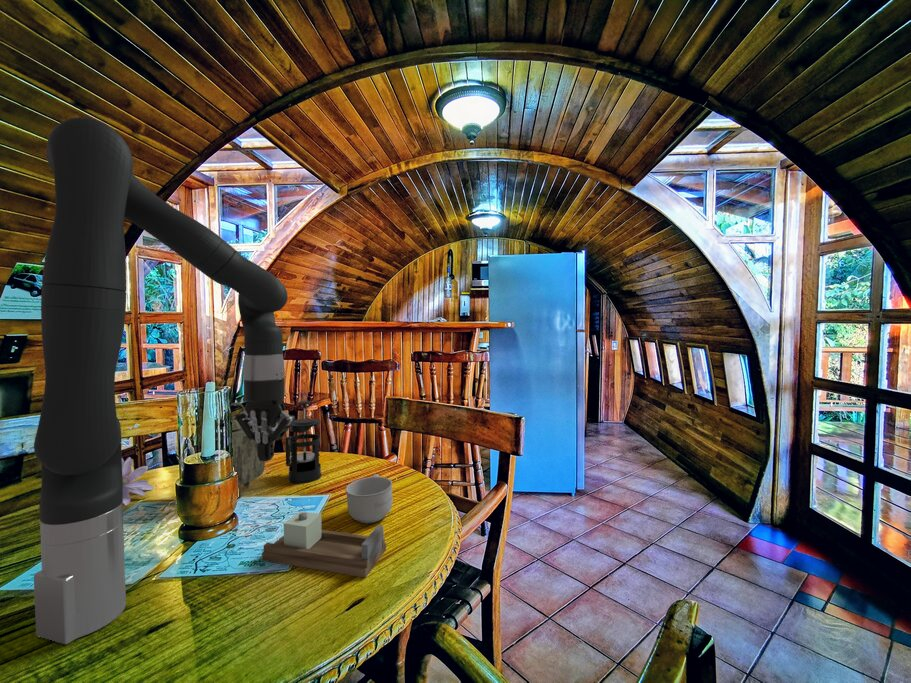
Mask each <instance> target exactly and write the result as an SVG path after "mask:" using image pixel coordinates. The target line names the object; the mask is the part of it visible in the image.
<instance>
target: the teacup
mask: <svg viewBox="0 0 911 683" xmlns="http://www.w3.org/2000/svg"><path fill="white" fill-rule="evenodd" d="M345 493H346V503H347V510H348V513H349V516H350V517H351V518H352V519H353V520H355V521H357V522H359V523H362V524H373V523H377V522H379V521H381V520H382V519H384V518H385V517H386V515H388V514H389V512H390V511H391V509H392V506H393V482H392V480H391V479H389V478H387V477H384V476H380V475H379V474H373V475H372V476H368V477H362V478H360V479H359V478H358V479H356V480H354V481H352V482H350V483H349V484H348V485H347V486H346V487H345Z"/></svg>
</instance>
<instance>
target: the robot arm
mask: <svg viewBox="0 0 911 683" xmlns="http://www.w3.org/2000/svg"><path fill="white" fill-rule="evenodd" d="M47 138H48V139H47V144H46V149H45V150H46V161H47V164H48V166H49V167H50V168H49V169H51V171H52V173H53V178H54V192H55V213H54V219H53V223H52V228H51V232H50V236H49V238H48V243H47V247H46V252H45V258H44V263H43V269H42V270H43V271H42V278H41V295H40V297H41V298H40V317H41V318H40V320H41V322H40V323H41V327H40V328H41V341H42V342H41V344H42V353H43V354H42V355H43V361H44V371H45V372H44V374H45V377H44V378H45V380H44V389H43V390H44V391H43V397H42V398H43V399H42V403H41V404H42V405H41V410H40V415H39V420H38V425H37V429H36V433H35V437H34V443H33V450H34V454H35V457H36V459H37V460H38V462H39V463H40V466H41V485H40V486H41V488H40V497H39V528H40V531H39V532H40V533H39V534H40V556H41V570H39V571H37V572H36V573H35V574H34V575H33V586H34V587H33V588H34V589H33V590H34V593H33V594H34V613H35V637H36V636H40V637H42V638H41V639H43V638H46V639H45V640H47V639H49V640H48V641H50V640H52V641H51V642H54V641H55V643H59V644H63V645H68V644H70V643H72V642H73V641H75V640H76V639H79V638H81V637H84V636H86V635H90V634H92V633H94V632H96V631H99V630H100V629H102V628H104V627H105V626H107V625H108V624H110V623H111V622H113V621H114V620H116V619H117V618H118V617H119V616H120V615H121V614H122V613H123V611H124V610H125V608H126V604H127V600H126V599H127V597H126V596H127V594H126V565H125V563H126V560H125V540H124V539H125V535H124V534H125V533H124V532H125V531H124V503H123V478H122V458H123V456H122V455H123V454H122V453H123V452H122V449H123V448H122V428H121V427H122V426H121V422H120V420H119V418H118V414H117V405H116V391H115V384H116V382H115V380H116V371H117V370H116V369H117V365H118V360H119V357H120V356H119V355H120V351H121V348H122V342H123V336H124V331H125V322H126V313H127V312H126V310H127V259H126V258H127V256H126V255H127V254H126V243H125V219H127V221H130V222H131V223H133V224H134V225H136V226H137V227H139V228H140V229H142V230H143V231H145V232H146V233H148V234H149V235H151V236H152V237H154V238H155V239H156V240H157V241H159V242H161V243H162V244H164V245H165V247H168V248H169V249H170V250H172V251H173V252H174V253H175V254H177V255H178V256H179V257H181V258H182V259H184V260H185V262H187V263H189V264H190V265H191V266H193V267H194V268H196V269H197V270H198V271H200V272H201V273H203V275H205V276H206V277H208V278H209V279H210V280H212V281H213V282H215V283H217V284H219V285H222V286H226V287H228V288H230V289H232V290H234V291H235V292H236V293H238V296H237V297H238V298H237V299H238V300H237V303H238V304H237V305H238V311H239V316H240V320H241V324H242V325H241V326H242V327H243V332H244V333H243V334H244V335H243V336H244V337H243V338H244V339H243V341H244V346H243V347H244V349H243V350H244V357H243V358H244V360H243V367H242V368H243V370H242V371H243V400H244V401H245V402H246V404H245V406H244V412H242V411H241V412H242V413H241V412H240V413H241V414H240V413H237V414H236V415H235V416H236V417H235V420H237V422H238V423H239V425H240V426H241V428H242V429H243V431H244V432H245V434H246V435H247V437H248V438H249V439H250V440H251V439H253V440H255V441H256V443H257V452H258V453H257V456H258V458H259V461H265V463H266V462H268V461H271V460H272V459H273V457H274V455H275V441H278V440H280V439H282V438H283V437H284V436H285V435H286V433H287V431H288V430H290V426H291V425H292V423H293V422H294V421H295V420H296V417H295V415H292V414H291V415H290V414H289V413H287V412H286V407H285V404H284V399H285V396H286V387H285V386H286V384H285V383H286V382H285V377H286V376H285V373H286V372H285V360H284V346H283V344H284V342H283V341H284V339H283V338H284V337H283V331H282V329H281V328H280V326H278V325H277V323H276V320H275V319H276V318H275V313H276V312H278V311H281V310H282V309H283V308H284V307H285V306H286V304H287V303H288V298H289V297H288V296H289V295H288V291H287V288H286V286H285V285H284V284H283V282H282V281H281V280H280V279H279V278H278V277H276V276H275V275H274V274H272V273H271V272H270V271H268V270H266V269H264V268H263V267H261V266H260V265H258V264H256V263H255V262H253V261H252V260H249V259H248V258H246V257H245V256H243V255H242V254H241V253H240V252H239V251H237V249H235V248H234V247H233V246H232V245H230V244H229V243H228V242H227V241H226V240H224V239H223V238H222V237H221V236H219V234H217V233H216V232H215V231H213V230H212V229H210V228H209V227H208V226H205V224H203V223H200V222H199V221H198V220H196V219H194V218H192V217H191V216H189V215H187V214H186V213H184V212H182V211H180V210H178V208H176V207H173V206H172V205H170V204H169V203H168V202H166V201H165V200H163V199H162V198H160V197H159V196H158V195H156V194H155V193H154V192H153V191H151V190H150V189H149V188H148V187H147V186H146V185H145V184H144V183H142V181H140V180H139V179H138V177H137V176H135V174H134V173H133V170H134V159H133V156H132V151H131V150H130V147H129V146H128V144H127V143H126V141H125V140H124V139H123V137H122V136H121V135H120V133H118V132H117V131H116V130H114V128H112V127H111V126H110V125H107V124H106V123H105V122H103V121H100V120H98V119H95V118H90V117H85V116H83V117H81V116H80V117H79V116H78V117H72V118H68V119H66V120H63V121H62V122H59V124H57V125H55V127H54V128H53V129H52V130H51V131H50V133H49V135H48V137H47ZM251 430H252V431H253V432H252V431H251ZM261 432H262V433H261Z"/></svg>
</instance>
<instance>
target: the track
mask: <svg viewBox="0 0 911 683" xmlns="http://www.w3.org/2000/svg"><path fill="white" fill-rule="evenodd" d="M321 535H322V538H321V539H320V540H319V541H317V542H316V543H315V544H314V545H313V546H312V547H311V548H310V549H305V548H299V547H293V546H286V545H284V535H282V536H281V537H280V538H279V539H277V540H276V541H274V543H273V542H266V543H264V544H263V551H262V552H261V560H262V561H264V562H270V563H271V562H272V563H275V564H277V563H278V564H283V565H289V566H293V567H294V566H295V567H299V568H306V569H311V570H317V571H323V572H329V573H335V574H341V575H347V576H352V577H358V578H367V577H368V575H369V574H370V573H371V571H372V570H373V568H375V566H376V565H377V563H378V562H379V560H380V559H381V558H382V556H383V555H384V554H385V553H386V550H387V543H386V539H385V538H384V525H377V526H376V527H375V528H374V529H373V530H372V531H371V533H370V534H369V535H368V536H367V535H362V534H355V533H348V532H341V531H334V530H327V529H321Z"/></svg>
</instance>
